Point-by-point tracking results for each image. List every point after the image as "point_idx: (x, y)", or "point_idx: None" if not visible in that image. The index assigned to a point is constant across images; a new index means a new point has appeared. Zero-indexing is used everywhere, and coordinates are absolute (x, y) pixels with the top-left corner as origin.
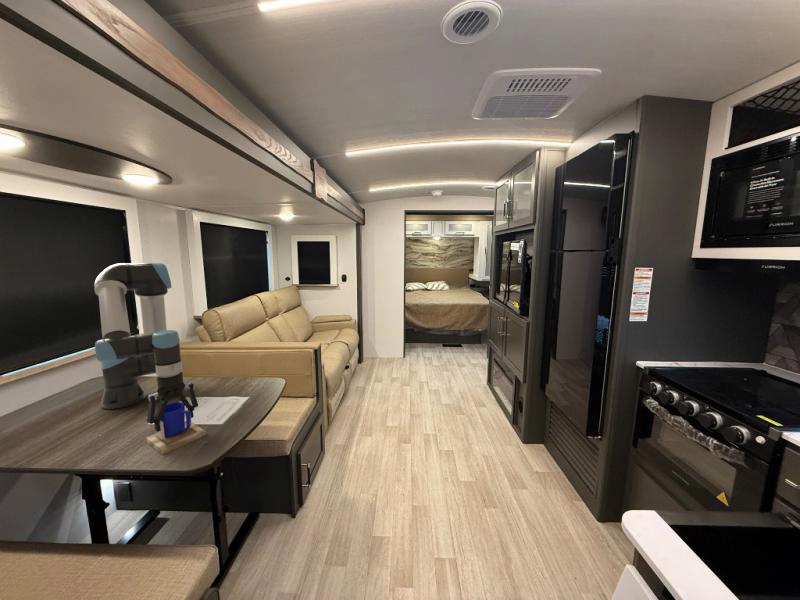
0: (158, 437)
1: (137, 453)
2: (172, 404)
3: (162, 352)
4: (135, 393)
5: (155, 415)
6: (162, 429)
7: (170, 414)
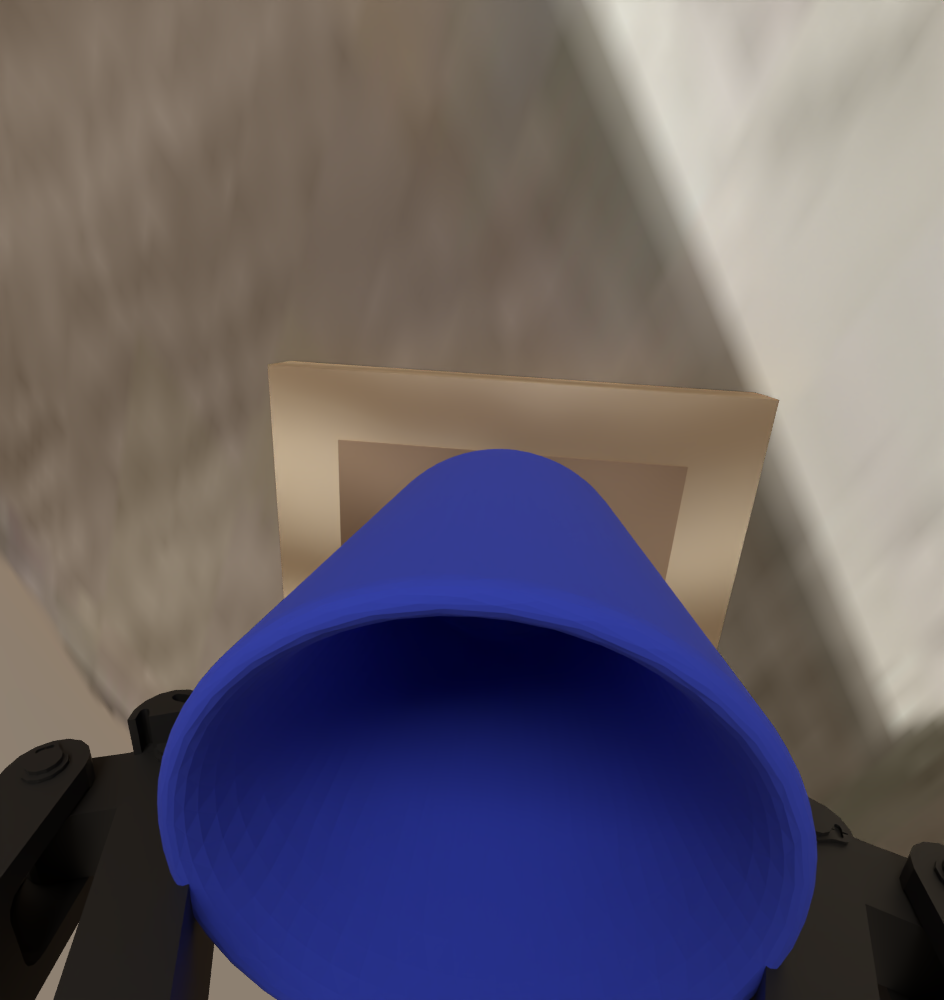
0: (355, 507)
1: (180, 527)
2: (636, 656)
3: None
4: None
5: (112, 852)
6: None
7: (359, 968)
